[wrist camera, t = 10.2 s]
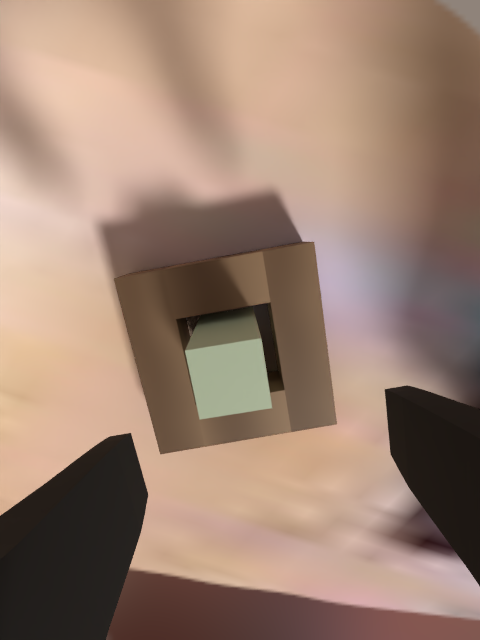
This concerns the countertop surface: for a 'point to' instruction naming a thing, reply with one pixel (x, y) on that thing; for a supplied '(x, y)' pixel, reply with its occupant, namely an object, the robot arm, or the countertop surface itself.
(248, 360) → the sage peg
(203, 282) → the brown square frame
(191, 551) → the countertop surface
